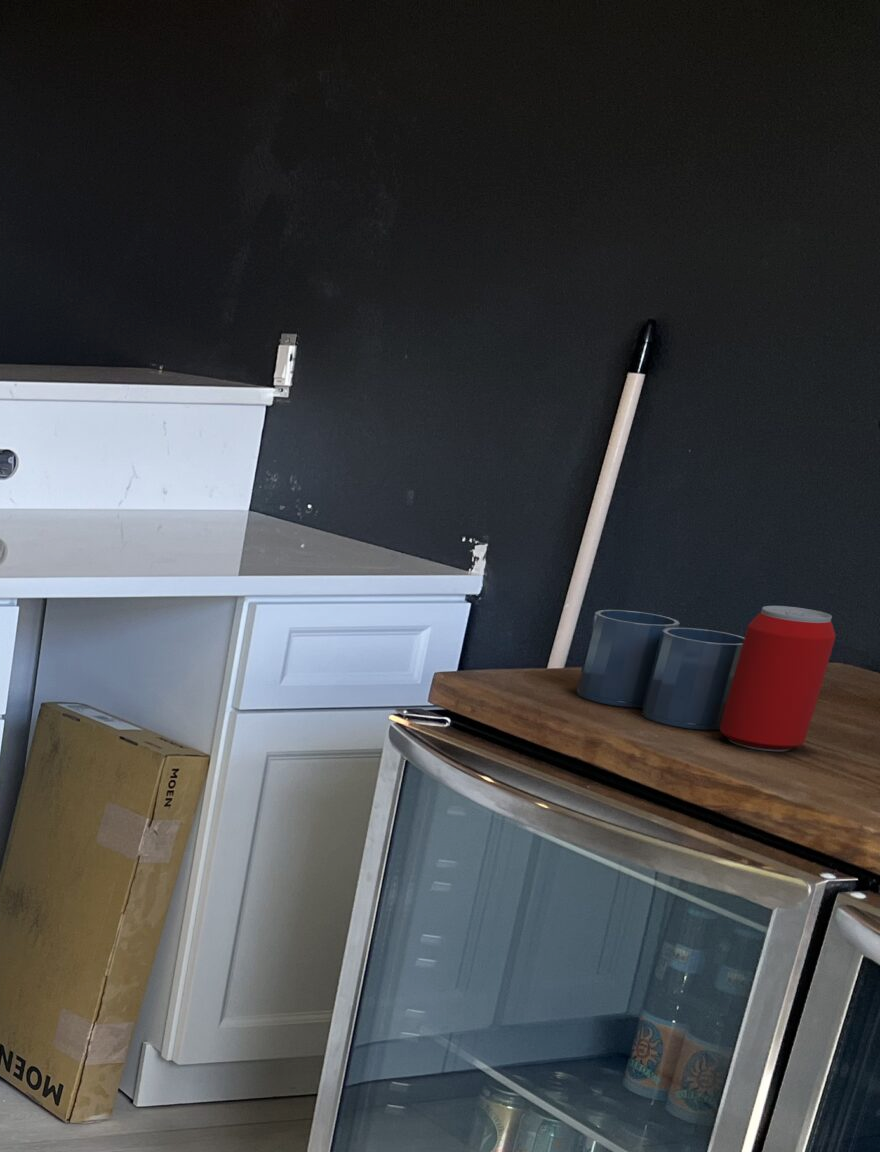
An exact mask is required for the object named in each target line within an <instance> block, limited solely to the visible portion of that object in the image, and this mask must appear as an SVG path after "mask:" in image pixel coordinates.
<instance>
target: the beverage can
mask: <svg viewBox="0 0 880 1152" xmlns="http://www.w3.org/2000/svg"><path fill="white" fill-rule="evenodd" d="M832 618H833V615H831V614H830V613H827V612H823V611H821V610H815V609H810V608H803V607H795V606H786V605H765V606H762V608H761V611H760V612H759V613H757V615H756V616H755V617H754V618H753V619H752V620H751V621H750V623H749V624H748V625H747V628H746V631H745V635H744V642H743V645H742V649H741V652H740V656H739V659H738V663H737V667H736V670H735V674H734V677H733V681H732V685H731V688H730V692H729V696H728V700H727V703H726V707H725V711H724V715H723V719H722V723H721V726H720V729H719V732H720V733H722V735H723V736H725V737H726V738H727V739H728V741H729V742H730V743H733V744H734V745H737V746H740V747H744V748H747V749H751V750H758V751H764V752H765V751H766V752H787V751H790V750H791V749H794V748H796V747H800V746H802V745H803V744H805V742H806V738H807V736H808V732H809V729H810V725H811V724H812V723H811V722H812V720H813V716H814V713H815V709H816V707H817V702H818V700H819V696H820V692H821V690H822V686H823V682H824V679H825V676H826V672H827V669H828V666H829V662H830V658H831V655H832V651H833V648H834V645H835V642H836V641H835V640H836V636H837V635H836V632H835V629H834V626H833V622H832Z"/></svg>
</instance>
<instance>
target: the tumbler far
mask: <svg viewBox="0 0 880 1152" xmlns="http://www.w3.org/2000/svg"><path fill="white" fill-rule="evenodd" d="M680 624H681V623H680V621H678V620H677V619H675V618H671V617H669V616H664V615H660V614H655V613H650V612H644V611H643V612H642V611H635V610H624V609H601V610H598V611H595V612H594V617H593V619H592V625H591V629H590V632H589V637H588V641H587V645H586V649H585V654H584V656H583V661H582V664H581V665H582V666H581V670H580V674H579V677H578V682H577V686H576V688H577V689H576V695H577V696H578V697H579V698H583V699H585V700H587V701H591V702H595V703H598V704H604V705H610V706H615V707H621V708H623V707H624V708H638V709H639V708H640V709H643V708H642V707H643V703H644V700H645V696H646V692H647V688H648V684H649V680H650V676H651V673H652V669H653V665H654V661H655V657H656V653H657V649H658V646H659V642H660V638H661V634H662V630H664V629H667V628H680Z"/></svg>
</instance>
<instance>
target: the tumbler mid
mask: <svg viewBox="0 0 880 1152" xmlns="http://www.w3.org/2000/svg"><path fill="white" fill-rule="evenodd" d="M744 638H745V636H741V635H739V634H738V635H737V634H733V633H730V632H724V631H718V630H713V629H711V630H710V629H705V628H704V629H703V628H693V627H679V628H667V629H664V630H662V634H661V638H660V642H659V646H658V649H657V653H656V657H655V661H654V665H653V669H652V673H651V676H650V680H649V684H648V688H647V692H646V696H645V700H644V703H643V707H642V708H641V709H642V710H641V715H642V717H644V718H645V719H648V720H649V721H651V722H655V723H659V724H661V725H662V724H663V725H667V726H671V727H675V728H676V727H677V728H682V729H690V730H700V731H717V730H718V731H720V726H721V723H722V719H723V715H724V711H725V707H726V703H727V700H728V696H729V692H730V688H731V685H732V681H733V677H734V674H735V670H736V667H737V663H738V659H739V656H740V652H741V649H742V645H743V642H744Z"/></svg>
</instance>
